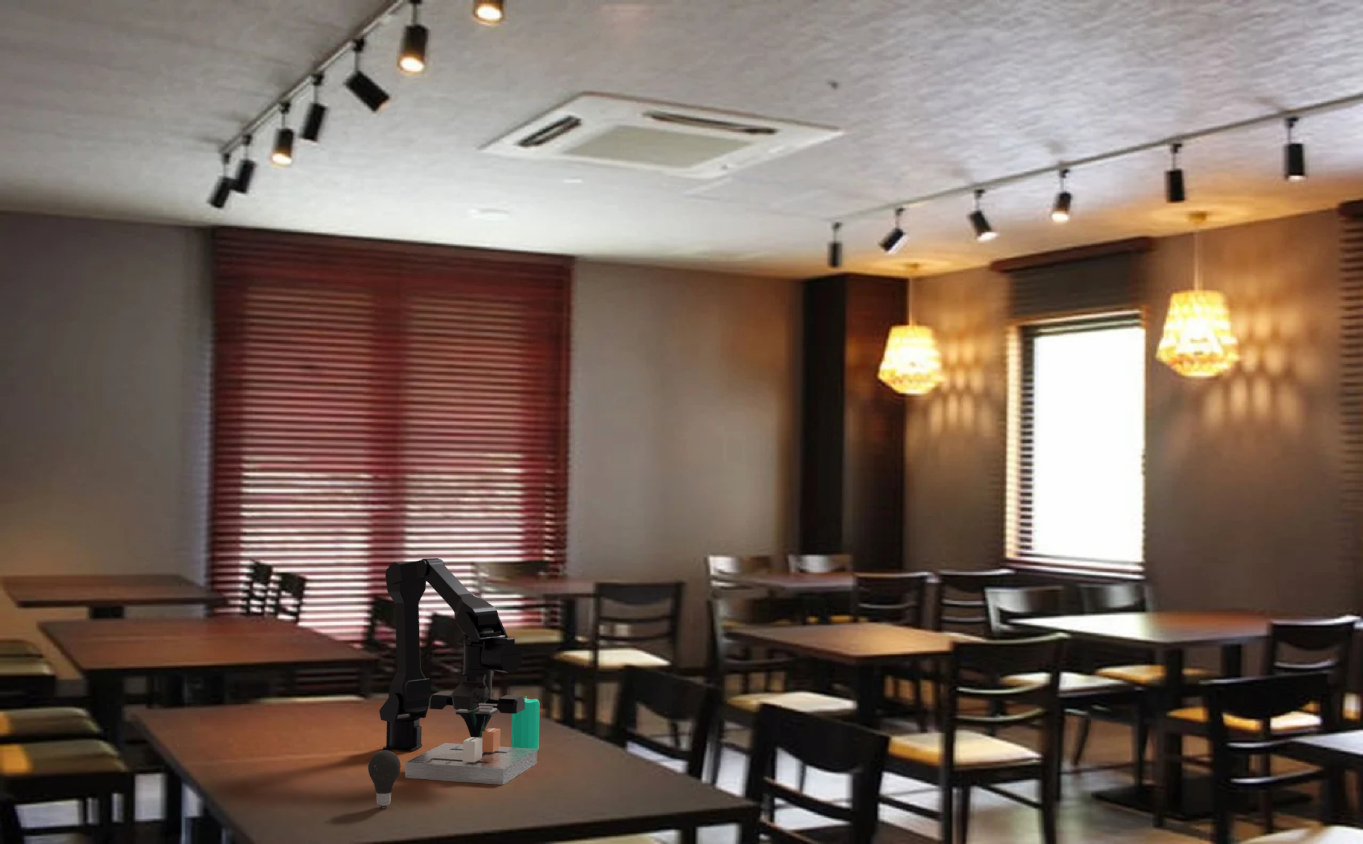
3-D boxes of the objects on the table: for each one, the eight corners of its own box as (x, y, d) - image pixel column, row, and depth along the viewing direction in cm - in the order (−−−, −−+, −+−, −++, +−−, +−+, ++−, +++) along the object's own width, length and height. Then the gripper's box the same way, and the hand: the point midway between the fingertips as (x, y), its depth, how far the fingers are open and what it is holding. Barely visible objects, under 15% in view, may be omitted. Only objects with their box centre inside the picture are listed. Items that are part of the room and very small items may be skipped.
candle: (534, 753, 298) (535, 696, 299) (506, 751, 300) (508, 694, 300) (542, 747, 304) (543, 691, 305) (515, 746, 306) (517, 690, 306)
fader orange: (481, 765, 282) (482, 731, 283) (488, 761, 286) (489, 727, 287) (492, 766, 282) (493, 732, 282) (499, 762, 286) (500, 728, 286)
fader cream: (462, 776, 273) (463, 740, 273) (470, 771, 277) (470, 736, 277) (474, 776, 272) (475, 741, 272) (481, 772, 276) (482, 737, 276)
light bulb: (369, 804, 251) (370, 747, 252) (401, 803, 252) (402, 747, 252) (365, 811, 246) (366, 753, 246) (397, 811, 246) (399, 753, 247)
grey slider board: (405, 778, 273) (405, 761, 273) (444, 757, 292) (445, 742, 292) (503, 784, 268) (503, 768, 268) (536, 763, 288) (536, 748, 288)
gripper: (418, 671, 280) (416, 750, 279) (508, 675, 276) (506, 756, 275) (440, 663, 290) (438, 740, 290) (526, 668, 286) (525, 745, 286)
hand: (476, 745), depth 285 cm, fingers closed
